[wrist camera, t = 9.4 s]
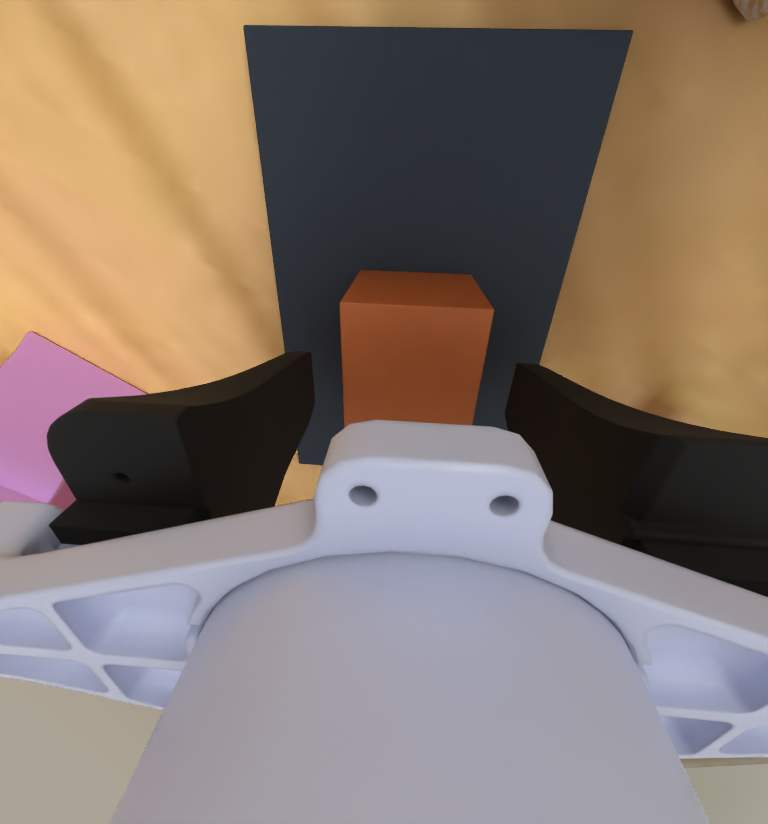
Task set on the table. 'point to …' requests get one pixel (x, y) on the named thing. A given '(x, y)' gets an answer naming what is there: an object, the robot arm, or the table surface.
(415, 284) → the orange box
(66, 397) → the toy chair
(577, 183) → the back mat
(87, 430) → the robot arm
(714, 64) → the table surface
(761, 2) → the decorative jar
